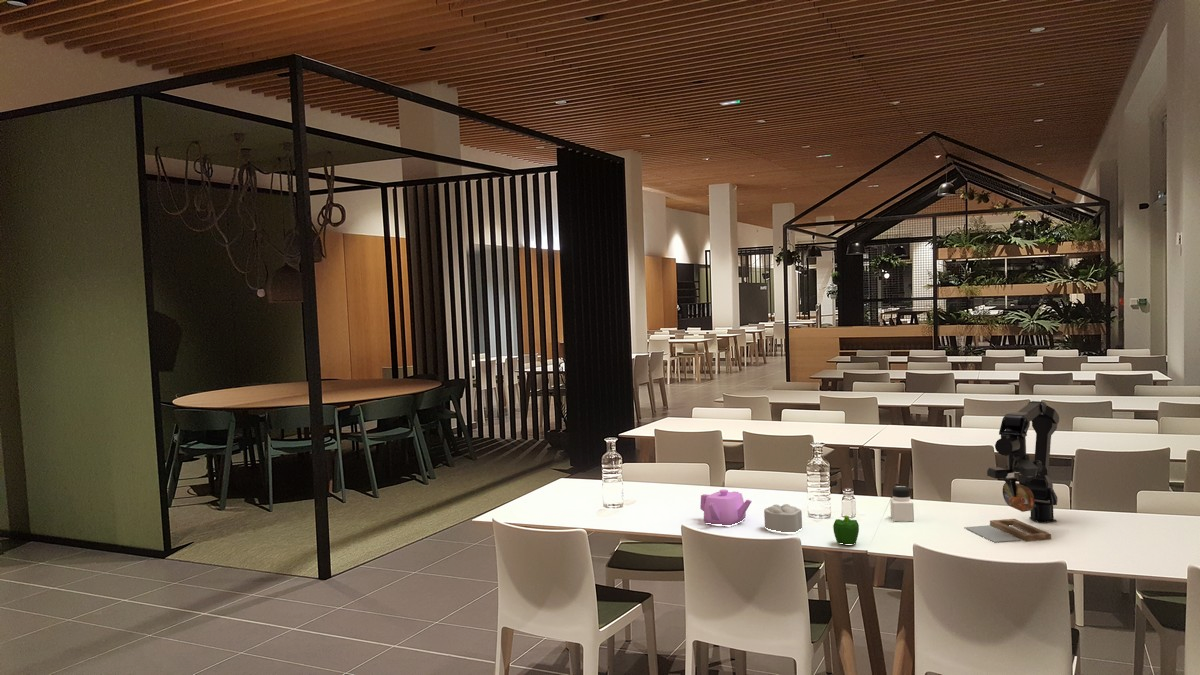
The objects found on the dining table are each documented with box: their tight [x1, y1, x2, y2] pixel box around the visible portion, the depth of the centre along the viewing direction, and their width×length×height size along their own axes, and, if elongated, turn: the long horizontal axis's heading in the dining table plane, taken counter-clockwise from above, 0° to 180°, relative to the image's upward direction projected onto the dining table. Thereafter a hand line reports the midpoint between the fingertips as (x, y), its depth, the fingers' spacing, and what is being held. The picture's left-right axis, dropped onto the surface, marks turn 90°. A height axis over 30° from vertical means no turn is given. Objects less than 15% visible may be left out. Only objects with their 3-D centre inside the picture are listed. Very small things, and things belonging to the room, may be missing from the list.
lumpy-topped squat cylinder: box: [763, 503, 803, 532], centre depth 306 cm, size 10×13×9 cm
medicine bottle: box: [889, 485, 915, 522], centre depth 312 cm, size 7×7×12 cm
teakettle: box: [699, 488, 752, 525], centre depth 321 cm, size 17×17×12 cm
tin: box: [1002, 481, 1034, 513], centre depth 287 cm, size 15×3×8 cm, turn 5°
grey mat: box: [963, 524, 1022, 544], centre depth 287 cm, size 9×19×1 cm, turn 5°
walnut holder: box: [989, 518, 1052, 542], centre depth 288 cm, size 9×21×2 cm, turn 5°
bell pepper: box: [832, 515, 860, 545], centre depth 284 cm, size 8×8×10 cm
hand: (1018, 496), depth 287 cm, fingers closed on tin, 2 cm apart
